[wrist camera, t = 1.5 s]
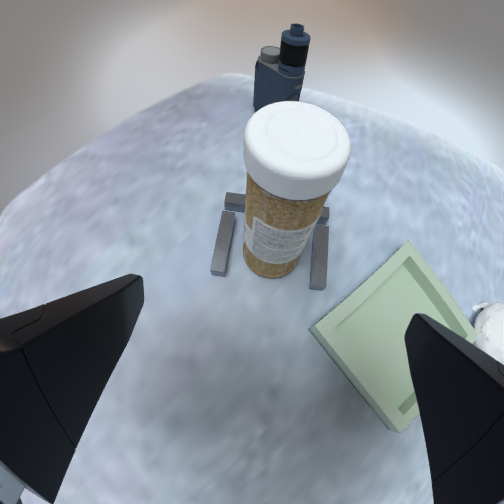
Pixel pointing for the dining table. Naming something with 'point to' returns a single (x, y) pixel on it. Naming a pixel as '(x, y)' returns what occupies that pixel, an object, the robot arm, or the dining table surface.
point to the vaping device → (281, 69)
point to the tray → (388, 332)
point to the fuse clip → (226, 230)
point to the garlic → (490, 329)
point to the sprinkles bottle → (288, 180)
